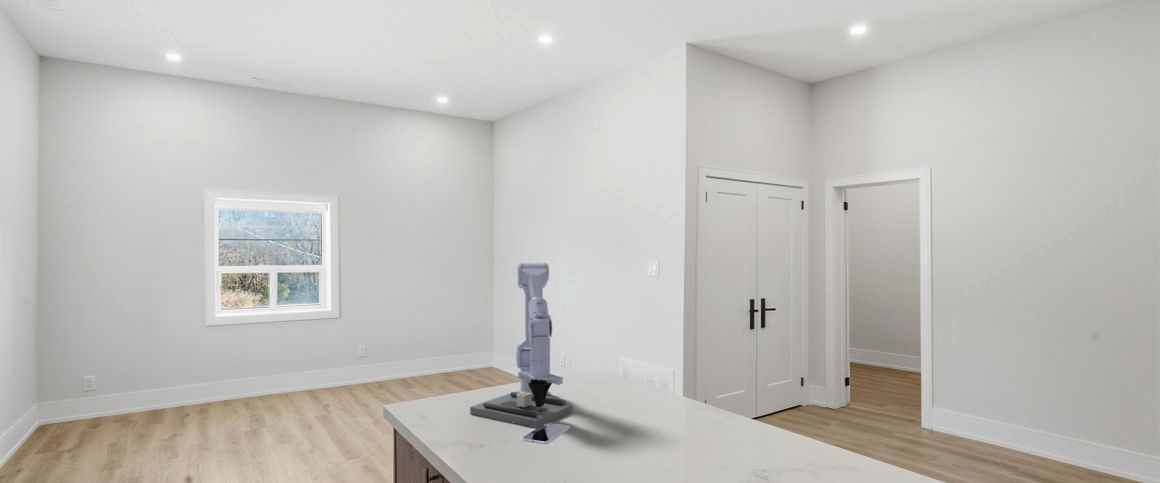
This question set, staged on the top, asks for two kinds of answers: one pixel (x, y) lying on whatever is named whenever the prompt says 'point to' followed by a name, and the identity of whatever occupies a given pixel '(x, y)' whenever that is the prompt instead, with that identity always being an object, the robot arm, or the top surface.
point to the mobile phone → (546, 433)
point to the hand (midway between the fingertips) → (539, 406)
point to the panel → (544, 412)
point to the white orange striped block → (524, 399)
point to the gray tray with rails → (520, 411)
